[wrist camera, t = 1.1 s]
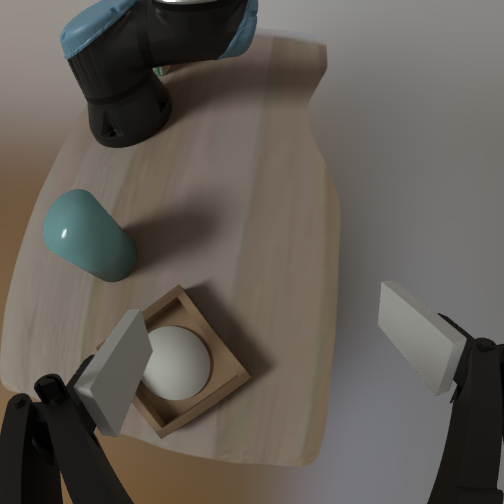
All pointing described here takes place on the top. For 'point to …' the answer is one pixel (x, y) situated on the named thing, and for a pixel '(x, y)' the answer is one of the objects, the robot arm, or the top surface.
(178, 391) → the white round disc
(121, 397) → the robot arm
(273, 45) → the top surface
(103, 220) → the teal cylinder
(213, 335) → the walnut tray
